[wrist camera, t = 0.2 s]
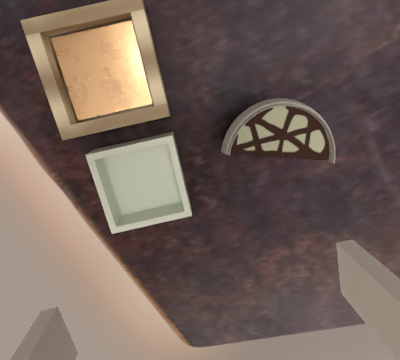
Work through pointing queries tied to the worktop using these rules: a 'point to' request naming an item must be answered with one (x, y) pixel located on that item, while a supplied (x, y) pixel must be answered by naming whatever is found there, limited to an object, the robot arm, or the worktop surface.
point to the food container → (280, 132)
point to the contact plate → (103, 70)
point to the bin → (140, 182)
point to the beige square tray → (53, 78)
